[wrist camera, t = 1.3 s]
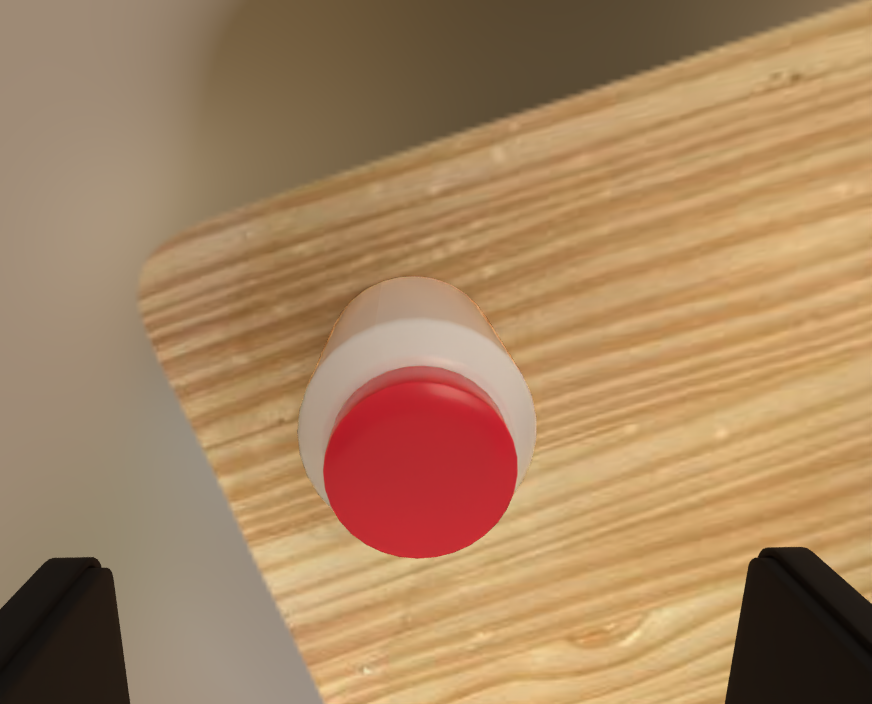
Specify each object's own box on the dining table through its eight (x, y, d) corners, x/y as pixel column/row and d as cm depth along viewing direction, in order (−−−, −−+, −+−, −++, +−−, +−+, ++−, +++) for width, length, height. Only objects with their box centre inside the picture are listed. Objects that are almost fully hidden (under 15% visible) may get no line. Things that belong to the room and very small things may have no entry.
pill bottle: (364, 462, 22) (344, 626, 14) (298, 311, 20) (234, 399, 12) (519, 407, 22) (589, 541, 14) (466, 250, 20) (510, 299, 12)
